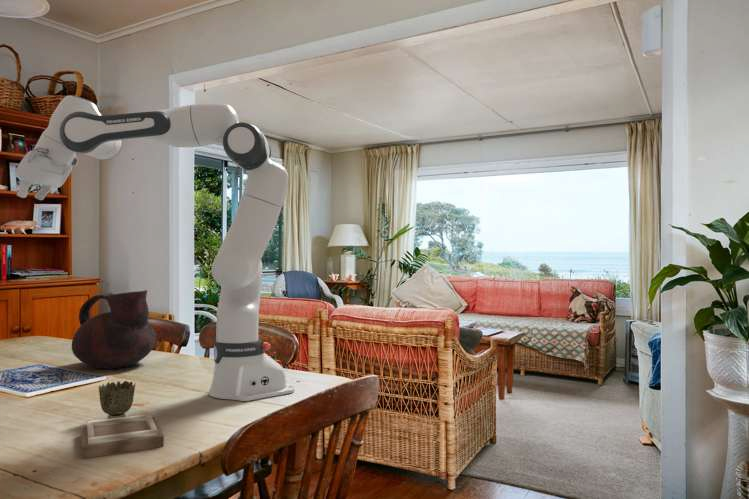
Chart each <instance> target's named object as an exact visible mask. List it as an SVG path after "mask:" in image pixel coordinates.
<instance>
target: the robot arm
mask: <svg viewBox="0 0 749 499" xmlns="http://www.w3.org/2000/svg"><path fill="white" fill-rule="evenodd" d="M136 139H145V140H151V141H157V142H159V143H163V144H165V145H169V146H172V147H173V148H198V147H203V146H208V145H209V146H210V145H222V147H223V151H224V152H225V155H226V156H227V157H228V158H229V159H230V160H231V162H232V163H233V164H234V165H235V166H237V167H238V168H241V169H242V170H243V171H244V172H246V175H247V178H246V183H245V186H244V189H243V191H242V195H241V197H240V199H239V200H240V201H239V203H238V205H237V209H236V212H235V215H234V217H233V219H232V222H231V224H230V227H229V229H228V230H227V233H225V234H226V235H225V236H224V239H223V241H222V243H221V245H220V247H219V249H218V251H217V254H216V256H215V258H214V259H213V262H212V264H211V275H212V277H213V279H214V281H215V282H216V284H217V285H218V286H220V292H219V293H220V294H219V299H218V306H217V310H216V326H215V328H216V335H215V339H216V340H214V347H213V361H214V369H213V375H212V376H213V377H212V379H211V380H212V381H211V385H210V389H209V391H208V395H209V396H211V398H212V397H213V398H216V399H223V400H235V401H241V402H247V401H253V400H259V399H260V400H261V399H264V398H271V397H276V396H282V395H287V394H292V393H294V392H295V386H294V385H293V384H292V383H291V382H288V381H287V378H286V372H285V370H284V367H283V366H282V365H281V364H279V363H278V362H277V361H276V360H275V359H274V358H272V357H270V356H269V355H268V354H267V353H265V352H266V351H269V350H270V349H271V348H272V346H271V344H270V343H269V342H267V341H263V340H261V339H259V322H260V321H259V317H260V316H259V315H260V314H259V313H260V302H261V293H262V282H263V270H264V269H263V262H262V258H263V255H264V254H265V252H266V249H267V247H268V245H269V243H270V240H271V238H272V237H273V234H274V232H275V229H276V228H275V227H276V226H277V222H278V220H279V216H280V214H281V211H282V208H283V204H284V201H285V199H286V194H287V189H288V184H289V173H288V171H287V169H286V168H285V167H284V166H283V165H281V164H280V163H278V162H277V161H274V160H272V159H271V156H272V150H271V146H270V144H269V142H268V139H267V137H266V136H265V134H264V133H263V132H262V131H261V130H260V129H259V128H258V126H255V125H254V124H252V123H249V122H243V121H241V122H240V120H239V116H238V114H237V112H236V110H235V109H234V108H233V107H232V106H231V105H230V104H228V103H221V102H219V103H218V102H206V103H195V104H188V105H187V104H186V105H182V106H175V107H170V108H164V109H157V110H152V111H142V112H141V111H139V112H130V113H119V114H107V115H102V113H101V112H100V111H99V108H98V106H97V104H95V103H94V102H93V101H91V100H88V99H86V98H83V97H80V96H78V95H73V94H72V95H71V94H70V95H66V96H65V97H63V98H62V100H61V101H60V102H59V104H58V105H57V107H56V108H55V109H54V111H53V113H52V115H51V116H50V118H49V123H48V126H47V127H46V129H45V130H44V131H42V133H41V135H40V137H39V139H38V141H37V142H36V144H35V146H34V148H33V149H32V150H30V151H28V152H26V154H25V155H24V156H23V157H22V159H21V161H20V162H19V164H18V165H17V167H16V169H15V171H14V177H16V178H18V179H19V180H20V181H19V186H18V187H19V188H18V191H17V193H16V196H17V197H20V199H21V198H22V199H25V198H27V196H28V195H29V190H30V189H29V188H30V187H31V186H32V184H35V185H41V187H40V189H39V190H38V191H36V192H35V195H34V198H35V199H37V200H38V201H43V200H44V199H45V197H46V195H47V194H49V192H50V191H52V188H57V189H58V188H61V187H62V186H63V185H64V184H65V182H66V180H67V179H68V177H69V176H70V174H71V172H72V170H73V167H77V165H78V163H79V159H78V157H77V155H76V154H77V153H80V154H84V155H86V156H88V157H91V158H95V159H97V160H103V161H105V160H112V159H113V158H115V157H116V156H118V155H119V153H120V151H121V149H122V146H123V141H126V140H136Z"/></svg>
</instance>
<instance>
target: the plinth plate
mask: <svg viewBox="0 0 749 499" xmlns="http://www.w3.org/2000/svg"><path fill="white" fill-rule="evenodd" d="M80 428H81V429H80V430H81V431H80V432H81V435H80V436H81V437H80V438H81V442H80V443H81V459H88V458H94V457H102V456H108V455H113V454H114V455H115V454H122V453H127V452H129V453H130V452H134V451H135V452H136V451H140V450H141V451H142V450H148V449H157V448H162V447H164V446H165V445H164V440H165V436H164V434H163V431H162V430H161V427H160V425H159V422H158V421H157V419H156V416H152V415H151V413H148V414H147V413H146V414H139V415H131V416H126V417H121V418H112V419H108V418H105V419H95V420H88V421H87V422H86V424H85V425H81V427H80Z"/></svg>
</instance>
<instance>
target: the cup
mask: <svg viewBox="0 0 749 499" xmlns="http://www.w3.org/2000/svg"><path fill="white" fill-rule="evenodd" d="M135 388H136V383H133V382H132V381H130V382H129V381H127V380H124V381H123V382H121V381H119V380H118V381H117V382H116V383H115V382H114V381H111V382H110V381H109V382H107V384H106V385H105V384H104V383H102V385H100V384H99V385H98V392H99V403H100V407H101V409H102V411H103V412H104V413H105V414H106V415H107V418H106V419H112V418H121V417H127V416H126V413H128V411H130V409H131V408H132V405H133V402H134V397H135V396H134V395H135V390H136V389H135Z"/></svg>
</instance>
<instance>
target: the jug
mask: <svg viewBox="0 0 749 499" xmlns="http://www.w3.org/2000/svg"><path fill="white" fill-rule="evenodd" d="M147 295H148V290H147V289H146V290H139V291H137V290H136V291H128V292H121V293H116V294H114V293H113V292H112V293H111V292H109V293H101V294H96V295H93V296H91V297H90V298H88V299H87V300H85V302H83V304H82V305H81V307H80V308H79V313H78V321H79V325H80V326H79V327H78V328H77V329H76V331H75V333H74V335H73V337H72V341H71V352H72V354H73V355H74V357H75V358H76V359H78V360H79V361H80V362H82V363H83V364H85V365H86V366H90V367H92V368H96V369H108V370H110V369H111V370H112V369H120V368H125V367H129V366H132V365H134V364H137V363H139V362H140V361H142V360H143V359H144V358H147V356H148V355H149V354H150V353H151V352H152V351H153V349H154V347H155V346H156V342H157V336H156V331H155V329H154V327H153V326H152V325H151V323H149V316H150V314H149V313H150V312H149V305H148V302H147ZM100 299H101V300H105V301H107V304H108V307H109V309H110V311H109V312H104V313H101V314H97V315H95V316H93V317H91V309H92V307H93V305H95V304H96V303H97V302H98V301H100Z"/></svg>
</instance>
